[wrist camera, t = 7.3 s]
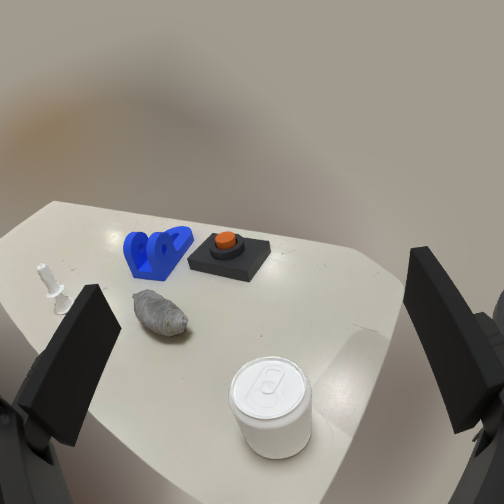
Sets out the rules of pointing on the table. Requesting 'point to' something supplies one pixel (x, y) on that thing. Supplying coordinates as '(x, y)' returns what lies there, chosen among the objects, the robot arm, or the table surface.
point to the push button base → (230, 257)
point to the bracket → (156, 252)
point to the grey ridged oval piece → (159, 313)
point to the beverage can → (272, 406)
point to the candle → (54, 290)
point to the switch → (225, 240)
